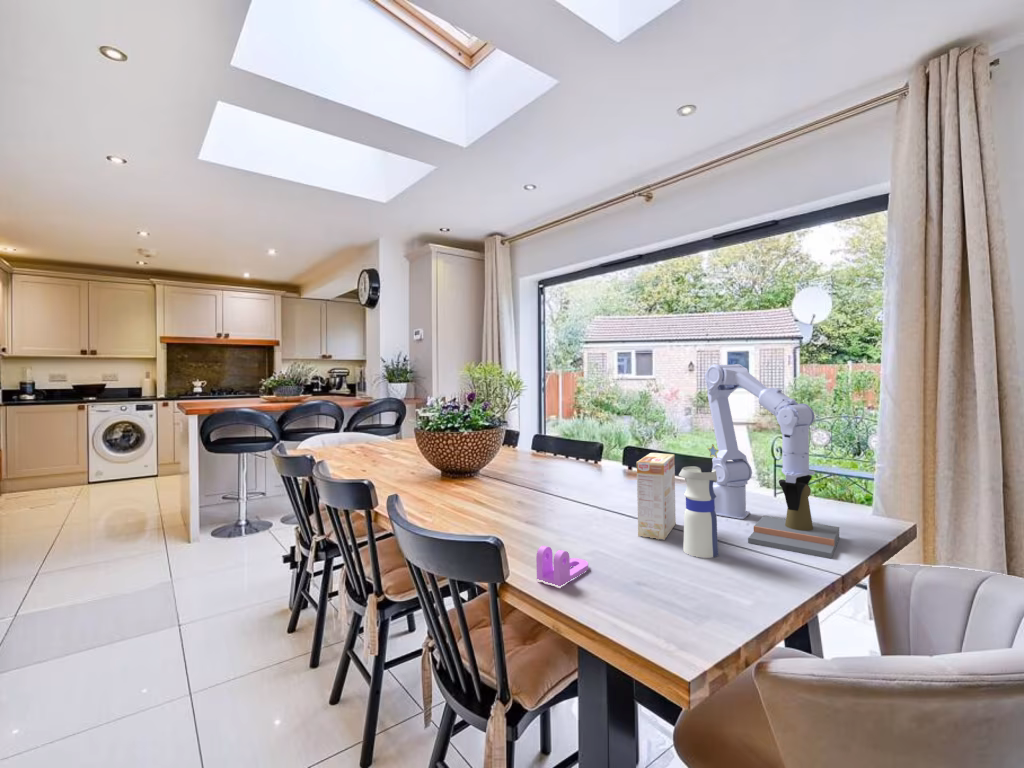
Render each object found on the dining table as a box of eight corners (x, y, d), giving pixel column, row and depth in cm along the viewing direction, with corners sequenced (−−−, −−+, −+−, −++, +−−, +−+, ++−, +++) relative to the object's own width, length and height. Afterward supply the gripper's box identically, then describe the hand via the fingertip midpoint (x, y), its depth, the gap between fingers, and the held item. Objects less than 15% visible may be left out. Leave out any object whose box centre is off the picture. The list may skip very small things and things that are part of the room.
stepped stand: (748, 542, 117) (748, 532, 117) (763, 525, 130) (763, 515, 130) (831, 558, 106) (831, 547, 106) (839, 537, 119) (839, 527, 119)
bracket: (559, 589, 94) (559, 554, 94) (536, 582, 97) (536, 548, 97) (593, 568, 104) (592, 536, 104) (571, 562, 107) (570, 531, 107)
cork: (806, 523, 122) (806, 480, 122) (817, 531, 116) (817, 486, 116) (781, 522, 123) (780, 480, 123) (790, 530, 117) (790, 485, 117)
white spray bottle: (690, 542, 118) (688, 441, 117) (725, 551, 112) (724, 444, 111) (674, 551, 112) (672, 445, 112) (710, 561, 106) (709, 448, 105)
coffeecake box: (650, 520, 136) (649, 452, 136) (676, 524, 132) (675, 453, 132) (636, 536, 123) (635, 461, 123) (664, 540, 119) (663, 463, 119)
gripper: (809, 458, 112) (810, 515, 112) (818, 449, 123) (818, 502, 123) (775, 455, 116) (776, 510, 116) (787, 447, 127) (787, 498, 128)
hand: (795, 506), depth 120 cm, fingers open, 7 cm apart
